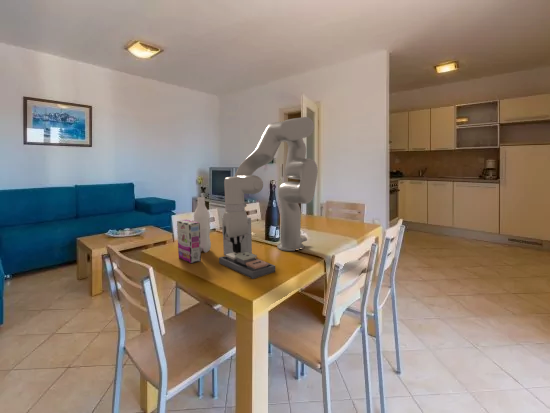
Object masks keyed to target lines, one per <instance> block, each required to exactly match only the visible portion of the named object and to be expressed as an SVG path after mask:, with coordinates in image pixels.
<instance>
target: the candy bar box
mask: <svg viewBox="0 0 550 413" xmlns="http://www.w3.org/2000/svg"><path fill="white" fill-rule="evenodd" d="M176 227H177V228H176V229H177V233H176V234H177V250H178V251H177V252H178V259H180V260H183V261H185V262H188V263H190V264H195V263H199V262H201V261H202V255H201V253H202V252H201V248H200V223H198V222H194V220H189V219H181V220H177V221H176Z"/></svg>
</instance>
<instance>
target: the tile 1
mask: <svg viewBox="0 0 550 413" xmlns="http://www.w3.org/2000/svg"><path fill="white" fill-rule="evenodd" d="M236 254H241V253H235V252H233V253H229V254H226V255H225V256H226V257H227V260H228V261H231V262H233V263H239V262H237V257H235V255H236Z"/></svg>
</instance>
